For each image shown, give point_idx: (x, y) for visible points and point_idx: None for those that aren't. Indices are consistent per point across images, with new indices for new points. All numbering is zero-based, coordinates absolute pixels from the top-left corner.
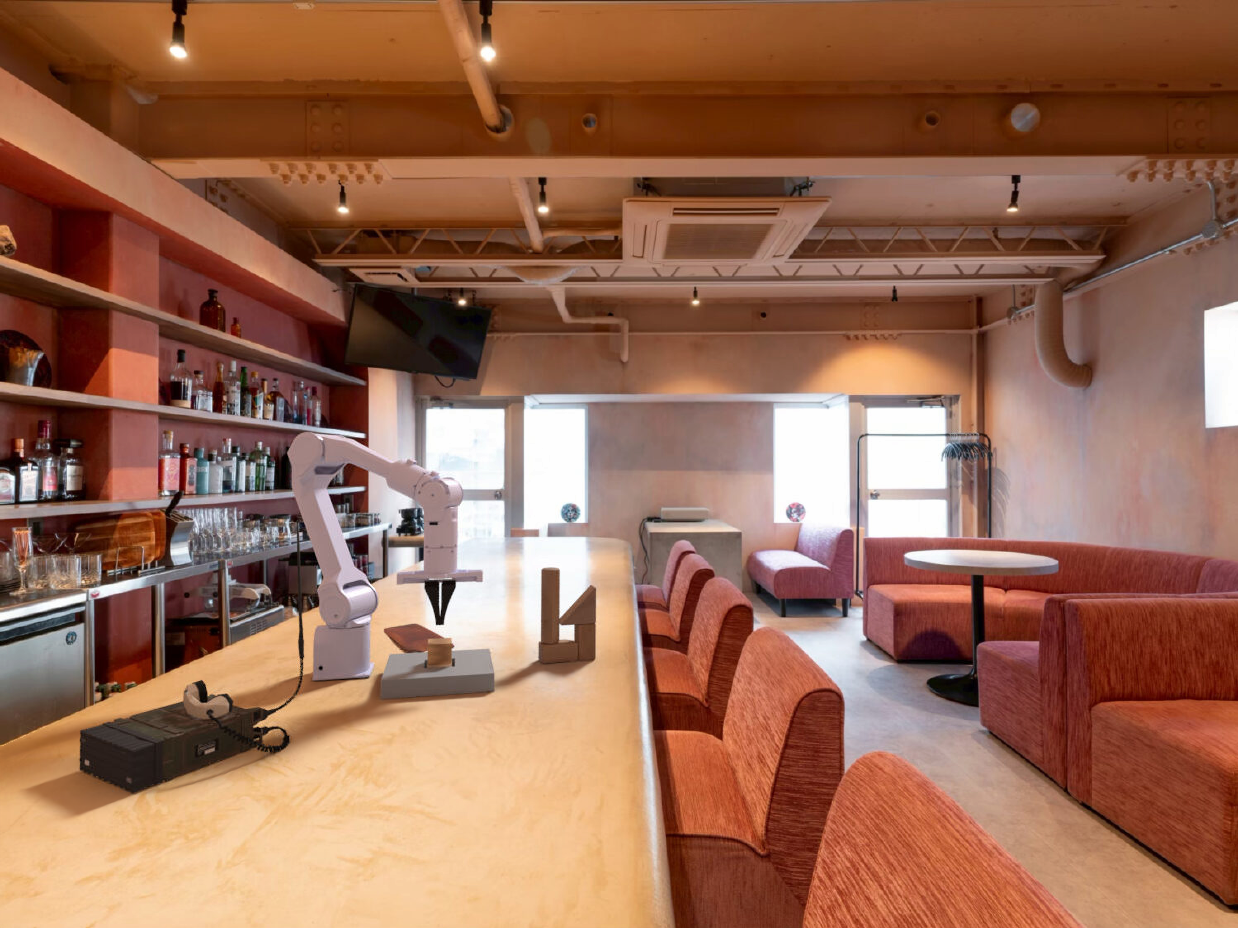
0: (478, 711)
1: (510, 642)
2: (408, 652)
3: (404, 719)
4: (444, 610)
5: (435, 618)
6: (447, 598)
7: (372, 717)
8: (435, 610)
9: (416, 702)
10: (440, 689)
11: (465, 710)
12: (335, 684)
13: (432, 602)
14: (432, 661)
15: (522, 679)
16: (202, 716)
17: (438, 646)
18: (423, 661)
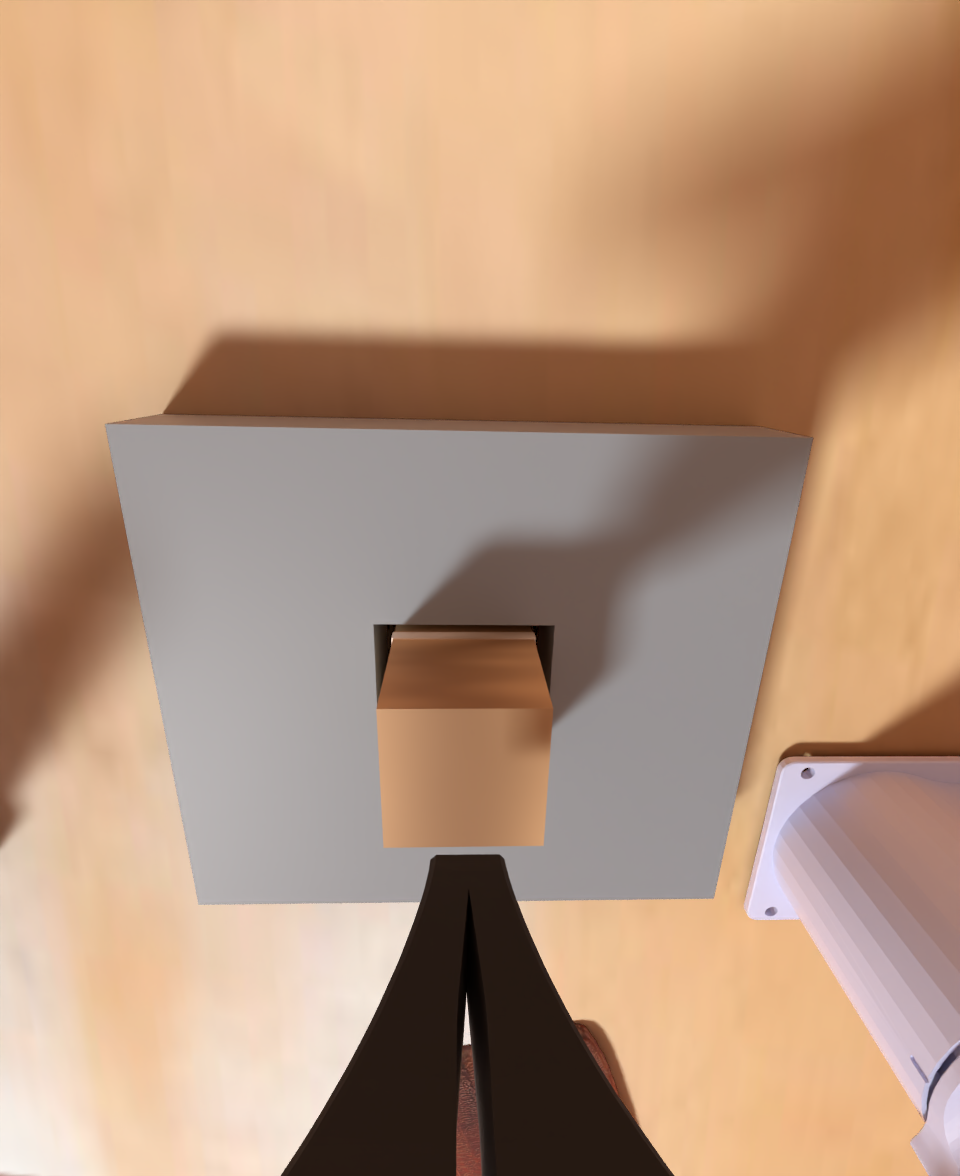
0: (223, 32)
1: (158, 1096)
2: (592, 1036)
3: (663, 3)
4: (417, 966)
5: (513, 898)
6: (357, 1130)
7: (830, 106)
8: (523, 971)
9: (583, 323)
10: (456, 422)
11: (305, 80)
12: (927, 698)
13: (579, 1071)
14: (507, 649)
15: (25, 583)
16: None
17: (473, 699)
18: (551, 750)
